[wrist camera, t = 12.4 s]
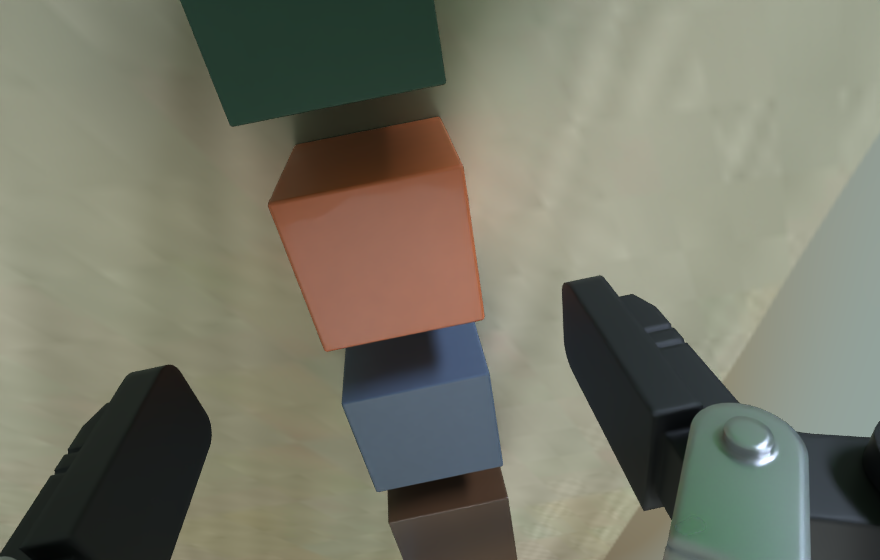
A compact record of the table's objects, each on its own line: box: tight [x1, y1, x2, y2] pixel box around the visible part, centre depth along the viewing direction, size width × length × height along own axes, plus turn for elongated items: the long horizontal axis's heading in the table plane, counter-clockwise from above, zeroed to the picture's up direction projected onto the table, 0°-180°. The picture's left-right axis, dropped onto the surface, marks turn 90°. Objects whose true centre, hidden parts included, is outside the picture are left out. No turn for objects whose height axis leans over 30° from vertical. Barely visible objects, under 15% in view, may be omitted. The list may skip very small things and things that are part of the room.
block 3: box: [342, 322, 503, 492], centre depth 18 cm, size 5×5×5 cm
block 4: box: [388, 467, 517, 560], centre depth 21 cm, size 5×5×5 cm
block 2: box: [268, 117, 485, 352], centre depth 14 cm, size 5×5×5 cm
